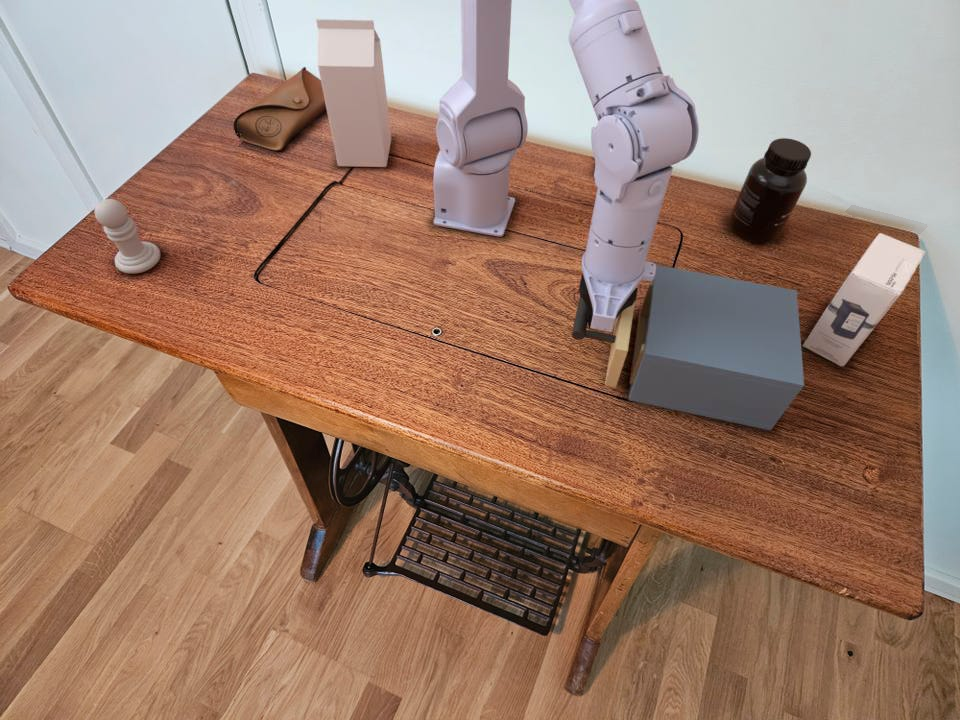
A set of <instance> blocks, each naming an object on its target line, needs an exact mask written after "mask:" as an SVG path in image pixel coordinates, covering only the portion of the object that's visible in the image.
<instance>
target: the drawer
mask: <svg viewBox="0 0 960 720" xmlns="http://www.w3.org/2000/svg"><path fill="white" fill-rule="evenodd" d="M652 286H653V280H652V281H648V285H647V289H646V292H645V295H644V298H643V301H642V304H641V308H640V311H639V314H638V317H637V325H636V334H635V340H634V348H633V354H632V355H633V356H632V363H631V368H630V369H631V370H630V377H629V385H630V384H633V382H634V380H635V377H636V374H637V371H638V369H639V366H640V363H641V360H642V358H643V355H644V351H645V343H646V335H647V327H648V319H649V310H650V302H651V294H652ZM636 288H638V286H637V287H636ZM635 303H636V301H635V302H634V303H633V305H632V306H630V307H628V308H626V309H625V310H623V311H622V312H621V313H620V314H619V316H618V317H617V318H616V320H615V323H614V327H613V331H612V334H611V333H605V332H601V331H596V330H591V329H590V330H589V329H587V328H588V318H587V308H586V305H585V302H584V300H583V299H582V298H581V296H580V295H579V299H578V303H577V308H576V313H575V317H574V321H573V325H572V331H571V336H572V338H573V339H574V340H578V341H581V340H583V339H586V338H587V339H592V340H597V341H601V342H607V343H611V345H610V350H609V351H610V352H609V357H608V363H607V369H606V375H605V380H604V386H606V387H610V388H614V389H615V388H617V386H618V382H619V379H620V376H621V373H622V371H623V368H624V364H625V362H626V359H627V355H628V352H629V347H630V339H631V338H630V337H631V331H632V325H633V317H634V310H635Z"/></svg>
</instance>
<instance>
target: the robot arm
mask: <svg viewBox="0 0 960 720" xmlns="http://www.w3.org/2000/svg"><path fill="white" fill-rule="evenodd" d="M568 2H569V4H570V6H571V9H572V11H573V14H574V18H573V21H572V24H571V27H570V31H569V33H568V42H569V45H570V48H571V51H572V53H573V56H574V59H575V61H576V64H577V67H578V70H579V72H580V75H581V78H582V80H583V83H584V86H585V89H586V91H587V95H588V98H589V100H590V103H591V105H592V108H593V111H594V113H595V116H596V119H597V121H598V122H597V124H596V125H595V126H592V127H591V130H590V131H591V132H590V142H591V149H592V153H593V157H594V164H595V165H594V173H593V178H594V185H595V187H597V191H596V194H595V200H594V205H593V211H592V216H591V221H590V227H589V232H588V237H587V242H586V248H585V252H584V253H583V254H582V258H581V267H580V268H581V271H582V272H581V276H580V281H579V286H578V291H579V297H580V296H581V298H582V299H583V300H584V302H585V305H586V308H587V318H588V324H587V326H588V328H589V329H590V330H593V331H599V332H604V333H605V332H606V333H613V331H614V326H615V320H616V318H617V317H618V316H619V314H620V313H621V312H622V311H623V310H625V309H626V308H628V307H630V306H632V305H633V303H634V302H635V303H636V300H637V297H638V289H639V288H638V286H639V285H640V283H641V282H643V281H646V282H650V281H652V280H653V279H654V277H655V273H656V265H657V264H656V263H654V262H652V261H649V260H647V259H648V255H649V252H650V249H651V245H652V241H653V238H654V235H655V231H656V227H657V225H658V220H659V217H660V214H661V210H662V207H663V204H664V201H665V197H666V194H667V190H668V187H669V184H670V180H671V176H672V173H673V168H674V167H673V165H676V164H679V163H680V162H681V161H684V160H686V159H688V158H689V157H690V156H691V155H692V154H693V152H694V151H695V149H696V146H697V144H698V140H699V135H700V134H699V132H700V127H699V126H700V125H699V118H698V115H697V112H696V111H697V110H696V106H695V105H696V104H695V102H694V101H693V99H692V97H690V95H688V93H687V92H685V91H684V90H683V89H681V88H679V87H678V86H677V84H676V82H675V80H674V78H673V77H671V75H668V74H667V75H664V72H663V70H662V66H661V64H660V60H659V57H658V54H657V52H656V50H655V46H654V44H653V40H652V38H651V36H650V32H649V30H648V27H647V24H646V21H645V19H644V15H643V13H642V10H641V7H640V4H639V2H638V1H637V0H568ZM512 3H513V1H512V0H460V21H461V22H460V32H461V33H460V34H461V35H460V36H461V38H460V40H461V42H460V43H461V76H460V78H458V80H457V81H456V82H455V83H454V84H453V85H452V86H451V87H450V88H449V89H448V90H447V91H446V92H445V93H444V94H443V95H442V96H441V97H440V99H439V110H438V119H437V122H436V126H435V134H436V140H437V144H438V147H439V151H438V154H437V155H436V158H435V161H434V162H435V163H434V167H433V183H432V187H433V201H434V204H433V205H434V219H433V224H434V226H437V227H444V228H449V229H453V230H460V231H465V232H471V233H476V234H481V235H486V236H493V237H499V238H500V237H503V236H504V234H505V232H506V229H507V227H508V223H509V220H510V217H511V215H512V212H513V210H514V206H515V203H516V198H515V197H512V196H509V189H510V175H511V174H510V173H511V160H513V159H516V157H517V149H521V148H522V147H523V146H524V145H525V144H526V140H527V137H528V131H529V125H528V118H527V114H526V105H525V103H526V102H525V101H526V97H525V95H524V94H523V92H522V90H521V89H520V87H519V86H517V84H516V83H515V82H514V81H512V80H510V79H509V66H510V65H509V64H510V45H511V43H510V42H511V26H512V25H511V23H512ZM636 287H637V288H636Z"/></svg>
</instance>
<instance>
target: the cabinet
mask: <svg viewBox="0 0 960 720" xmlns="http://www.w3.org/2000/svg"><path fill="white" fill-rule="evenodd" d="M798 300H799V299H798V290H797V289H790V288H785V287H781V286H775V285H769V284H764V283H758V282H753V281H748V280H742V279H736V278H731V277H725V276H719V275H714V274H709V273H703V272H698V271H692V270H687V269H681V268H676V267H671V266H664V265H659V264H656V273H655V277H654V279H653V286H652V294H651V302H650V310H649V319H648V327H647V335H646V343H645V351H644V355H643V358H642V360H641V363H640V366H639V369H638V371H637V374H636V377H635V380H634V382H633V384H630V383H629V394H628V401H631V402H634V403H639V404H644V405H649V406H655V407H659V408H663V409H667V410H673V411H676V412H683V413H687V414H691V415H696V416H700V417H704V418H709V419H714V420H719V421H724V422H728V423H733V424H738V425H743V426H747V427H752V428H756V429H761V430H766V431H771V430H772V429H773V428H774V427H775V426H776V425H777V423H778V421H779V420H780V419H781V417H783V415H784V413H785V411H787V410H788V408H789V407H790V405H791V404H792V403H793V401H794V399H796V397H797V396H798V395H799V393H800V392H801V391H802V389H803V388H804V387H805V379H804V378H805V377H804V366H803V352H802V340H801V325H800V314H799V313H800V312H799V301H798Z"/></svg>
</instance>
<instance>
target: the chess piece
mask: <svg viewBox="0 0 960 720" xmlns="http://www.w3.org/2000/svg"><path fill="white" fill-rule="evenodd" d="M94 217H95V219H96V221H97V222H98V223H99V224H100V225H101V226H103V232H104V233H105V234H106V236H107V238H108V239H109V240H110V241H111V242H114V245H115V246H116V247H117V249H118V251H117V252H116V254H115V256H114V259H113V260H114V266H115V267H116V269H118V270H119V271H120V272H122V273H124V274H128V275H129V274H130V275H137V274H141V273H145V272H147V271H149V270H151V269H152V268H153V267H155V266H156V265H157V264H158V262H159V261H160V260H161V250H160V248H159V247H158V246H157V245H156V244H154V243H152V242H149V241H143V240H142V241H141V238H140V237H139V235H138V227H137V225H135V222H134V219H132V218H131V217H129V214H128V210H127V208H126V206H125V205H124V204H123V203H122V202H121V201H119V200H117V199H114V198H105V199H102V200H100V201H99V202H98V203H97V204H96V205H95V208H94Z"/></svg>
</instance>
